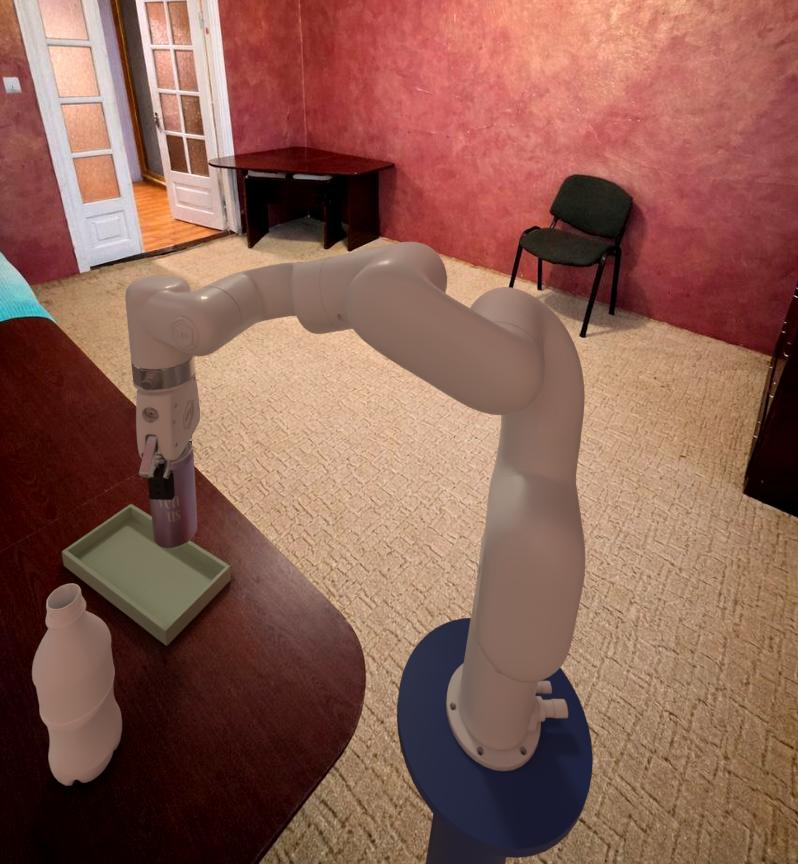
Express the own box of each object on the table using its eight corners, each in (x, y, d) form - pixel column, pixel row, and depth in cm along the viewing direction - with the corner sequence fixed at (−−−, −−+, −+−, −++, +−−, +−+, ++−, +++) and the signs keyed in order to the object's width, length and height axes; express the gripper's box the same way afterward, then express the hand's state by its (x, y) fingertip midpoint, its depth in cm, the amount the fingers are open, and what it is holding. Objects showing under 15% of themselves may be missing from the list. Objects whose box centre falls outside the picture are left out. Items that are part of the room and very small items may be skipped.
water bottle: (137, 738, 59) (119, 582, 52) (79, 811, 53) (49, 644, 45) (97, 708, 62) (75, 555, 54) (38, 773, 55) (3, 610, 48)
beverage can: (200, 516, 75) (196, 434, 71) (194, 548, 70) (188, 462, 65) (159, 521, 74) (152, 437, 70) (149, 554, 68) (140, 466, 64)
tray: (231, 579, 80) (230, 565, 79) (166, 646, 69) (165, 631, 68) (132, 516, 90) (131, 503, 89) (63, 565, 80) (61, 551, 79)
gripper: (166, 406, 56) (175, 530, 61) (214, 341, 72) (218, 442, 77) (99, 404, 55) (114, 528, 60) (162, 338, 72) (170, 440, 77)
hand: (172, 479), depth 69 cm, fingers closed on beverage can, 6 cm apart
